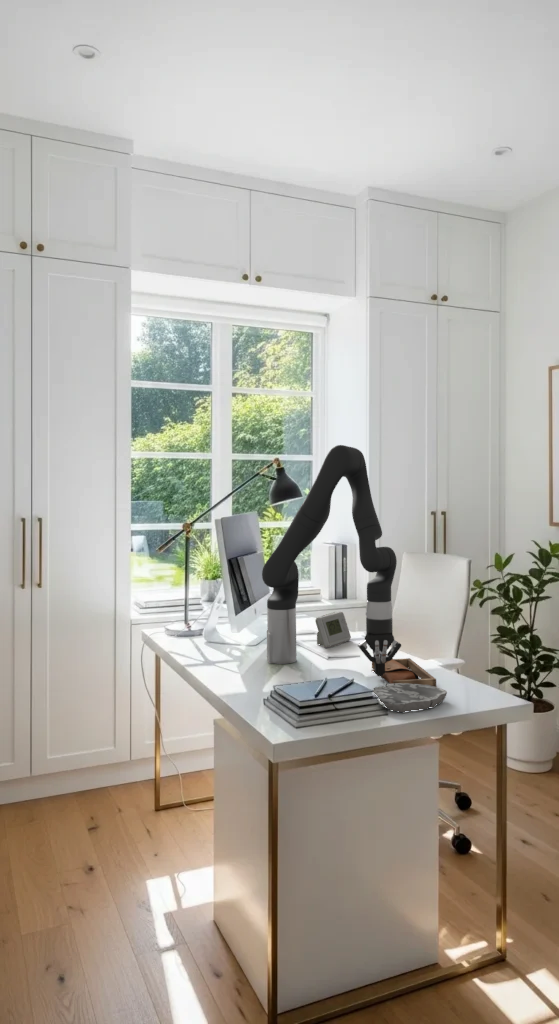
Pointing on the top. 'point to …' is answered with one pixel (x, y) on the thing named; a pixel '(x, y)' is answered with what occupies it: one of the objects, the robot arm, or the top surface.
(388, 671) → the sunglasses case
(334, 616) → the digital clock
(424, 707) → the grey flat stone slab
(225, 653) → the top surface
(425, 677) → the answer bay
